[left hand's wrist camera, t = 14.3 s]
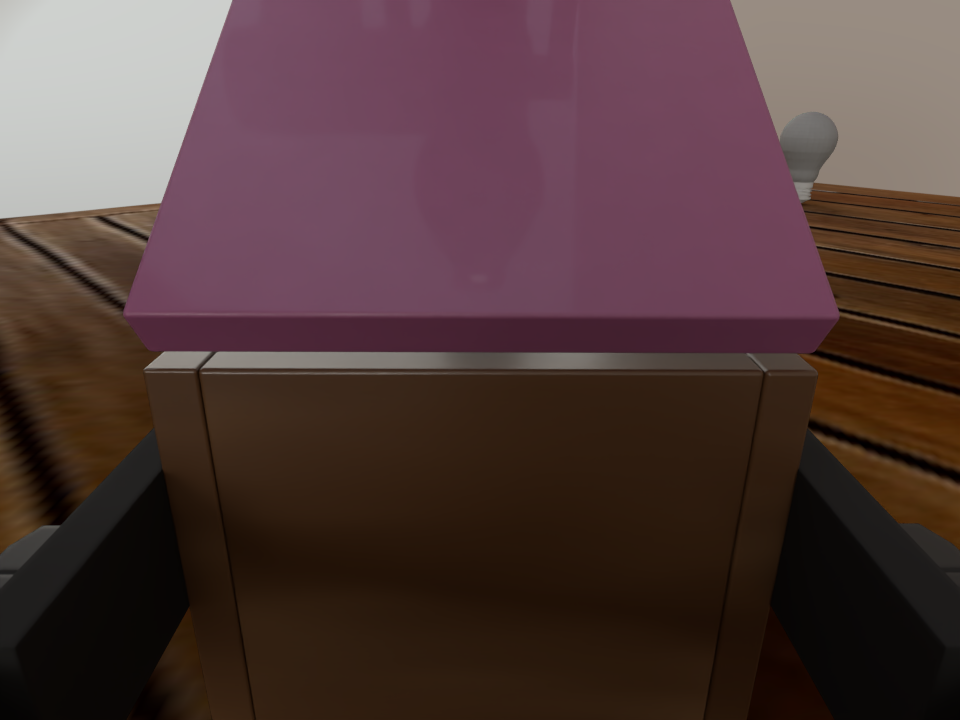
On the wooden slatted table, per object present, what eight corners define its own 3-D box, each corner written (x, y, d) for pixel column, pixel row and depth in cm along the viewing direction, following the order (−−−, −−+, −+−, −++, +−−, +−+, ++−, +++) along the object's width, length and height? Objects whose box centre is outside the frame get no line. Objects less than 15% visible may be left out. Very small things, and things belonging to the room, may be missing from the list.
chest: (358, 419, 28) (342, 197, 25) (599, 420, 28) (617, 198, 25) (224, 795, 14) (139, 370, 10) (733, 795, 14) (822, 371, 10)
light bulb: (780, 206, 78) (795, 112, 74) (763, 197, 84) (776, 110, 80) (834, 206, 78) (852, 113, 74) (813, 198, 83) (829, 111, 80)
